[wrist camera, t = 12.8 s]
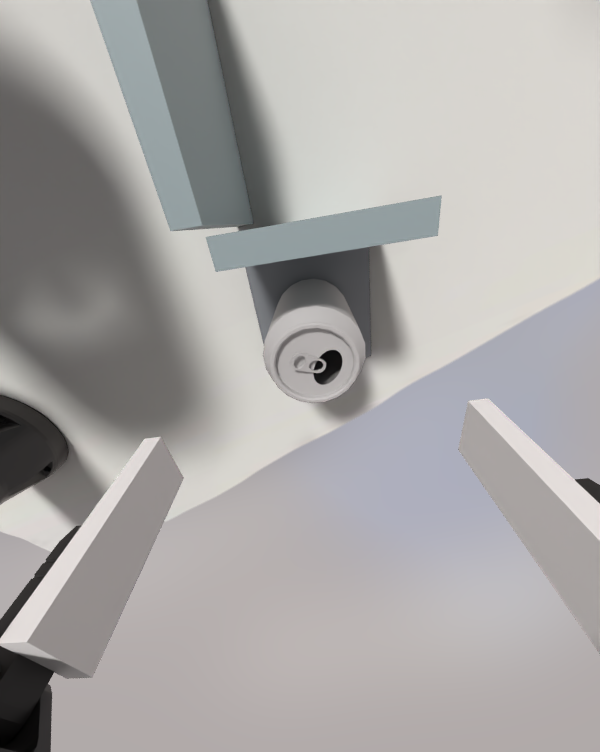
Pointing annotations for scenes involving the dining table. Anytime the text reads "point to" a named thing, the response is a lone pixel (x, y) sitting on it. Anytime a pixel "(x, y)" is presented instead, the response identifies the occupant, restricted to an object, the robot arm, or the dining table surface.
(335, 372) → the can
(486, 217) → the dining table surface
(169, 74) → the screen
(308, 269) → the coaster
